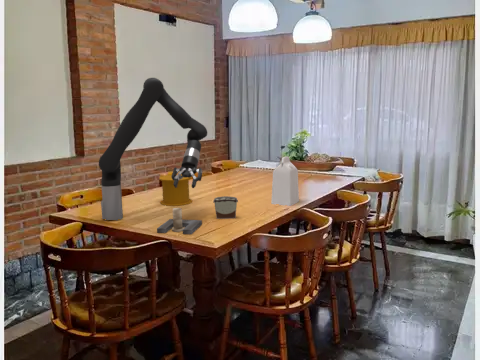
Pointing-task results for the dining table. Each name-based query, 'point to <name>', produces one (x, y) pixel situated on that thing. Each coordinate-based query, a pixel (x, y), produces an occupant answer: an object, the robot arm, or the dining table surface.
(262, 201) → the dining table surface
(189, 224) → the notched board
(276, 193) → the milk
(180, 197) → the spool
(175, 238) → the dining table surface
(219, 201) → the food container
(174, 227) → the bobbin
